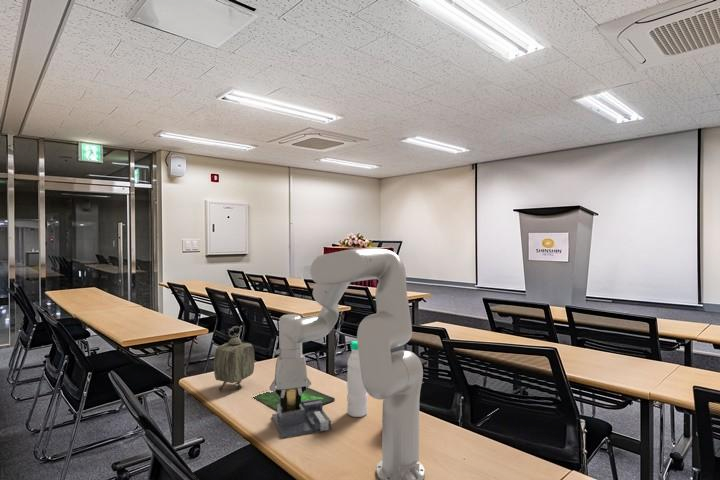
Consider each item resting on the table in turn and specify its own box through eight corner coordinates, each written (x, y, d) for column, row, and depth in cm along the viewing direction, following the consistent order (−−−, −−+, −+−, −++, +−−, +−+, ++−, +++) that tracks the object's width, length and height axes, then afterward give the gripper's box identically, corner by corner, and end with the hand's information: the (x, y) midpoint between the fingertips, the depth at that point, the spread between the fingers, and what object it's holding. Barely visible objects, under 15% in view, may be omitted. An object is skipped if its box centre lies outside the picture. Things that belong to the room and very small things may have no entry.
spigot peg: (297, 413, 136) (298, 383, 136) (285, 415, 135) (285, 385, 135) (295, 408, 140) (295, 379, 140) (283, 410, 139) (283, 381, 138)
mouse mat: (248, 396, 160) (248, 394, 160) (294, 382, 175) (294, 380, 175) (288, 419, 140) (288, 416, 140) (337, 401, 156) (337, 398, 156)
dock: (331, 429, 132) (332, 413, 132) (281, 438, 126) (281, 422, 126) (317, 409, 147) (317, 395, 147) (272, 417, 141) (272, 402, 141)
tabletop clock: (239, 380, 177) (239, 322, 177) (256, 384, 173) (256, 324, 173) (213, 392, 164) (213, 329, 164) (231, 395, 160) (231, 331, 160)
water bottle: (365, 418, 140) (365, 345, 140) (345, 416, 141) (345, 343, 141) (369, 410, 147) (369, 339, 147) (349, 408, 148) (349, 338, 148)
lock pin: (328, 429, 130) (328, 421, 130) (320, 431, 129) (320, 422, 129) (320, 418, 138) (320, 410, 138) (312, 419, 137) (312, 411, 137)
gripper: (267, 358, 131) (267, 416, 131) (318, 352, 137) (318, 407, 137) (263, 352, 138) (263, 406, 138) (312, 347, 144) (312, 399, 144)
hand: (290, 406), depth 137 cm, fingers closed on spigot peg, 3 cm apart
